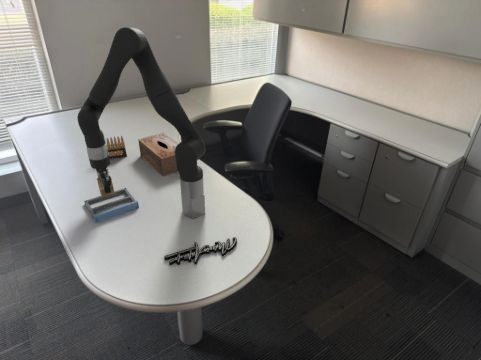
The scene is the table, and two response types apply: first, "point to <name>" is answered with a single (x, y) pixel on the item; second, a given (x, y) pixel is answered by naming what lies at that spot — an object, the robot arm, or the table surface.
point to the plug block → (102, 190)
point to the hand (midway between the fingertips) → (106, 190)
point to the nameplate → (200, 252)
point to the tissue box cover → (159, 152)
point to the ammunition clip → (116, 148)
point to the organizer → (113, 211)
